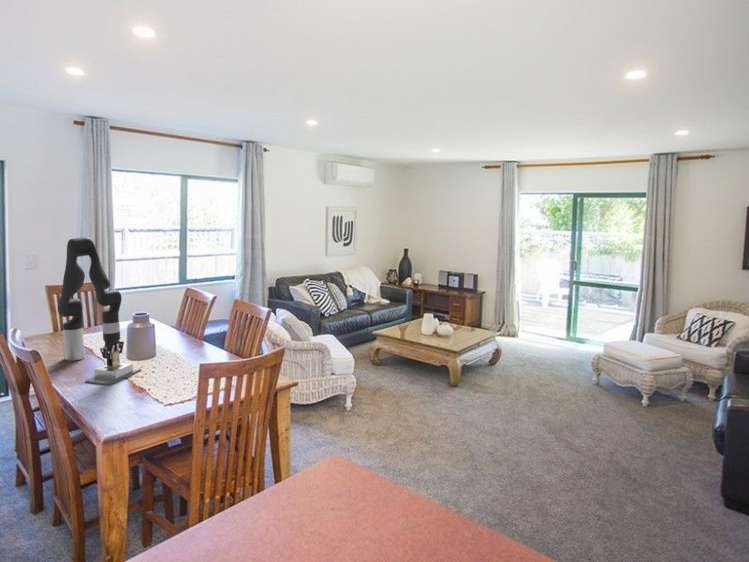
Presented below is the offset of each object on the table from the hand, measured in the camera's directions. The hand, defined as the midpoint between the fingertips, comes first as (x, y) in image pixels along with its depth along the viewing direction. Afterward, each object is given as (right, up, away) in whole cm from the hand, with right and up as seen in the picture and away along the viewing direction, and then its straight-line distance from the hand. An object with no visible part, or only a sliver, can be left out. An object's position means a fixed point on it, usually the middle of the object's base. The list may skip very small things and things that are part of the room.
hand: (113, 364), depth 247 cm
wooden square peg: (0, -3, +1) cm, 3 cm away
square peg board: (0, -6, +1) cm, 6 cm away
